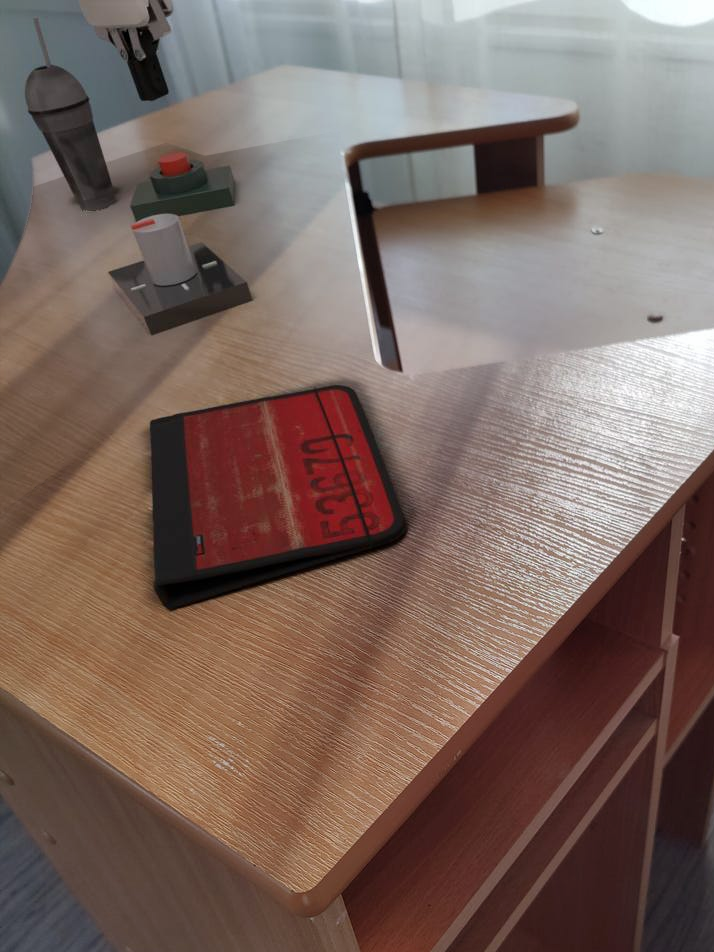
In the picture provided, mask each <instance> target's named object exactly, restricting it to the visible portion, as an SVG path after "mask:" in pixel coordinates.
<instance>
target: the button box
mask: <svg viewBox="0 0 714 952" xmlns="http://www.w3.org/2000/svg"><path fill="white" fill-rule="evenodd" d="M189 161H190V164H191V168H192V169H190V170H189V171H186V172H183V173H180V174H174V175H162V172H161V169H160V166H158V167H157V168H155V169H154V170H152V171H150V174H149V179H150V180H146V181H140V182H137V183H136V185H135V189H134V192H133V195H132V199H131V202H130V206H129V207H130V210H131V212H132V214H133V218H134V219H135V223H136V222H138V221H139V220H142V219H144V218H147V217H150V216H154V215H159V214H175V215H177V216H178V217H182V216H188V215H192V214H197V213H203V212H210V211H214V210H219V209H225V208H229V207H235V204H236V203H235V201H236V180H235V178H234V173H233V171H232V167H231V165H225V166H220V167H215V168H209V169H206V168H205V164H204V162H203V161H200V160H197V159H189Z"/></svg>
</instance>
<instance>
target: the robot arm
mask: <svg viewBox="0 0 714 952" xmlns="http://www.w3.org/2000/svg"><path fill="white" fill-rule="evenodd" d="M76 2H77V4H78V6H79V8H80V11H81V13H82V15H83V18H84V19H85V21H86V22H87V23H88V25H90V26H91V27H93V28H94V32H95V36H96V37H97V38H98V39H101V40H102V41H106V42H109V43H111V44H112V45H113V46H114V47H115V48H116V49H117V52H118V54H119V56H120V59H122V60H123V61H124V62H126V63H127V66H128V69H129V72H130V74H131V77H132V81H133V84H134V86H135V88H136V89H135V90H136V91H137V94H138V97H139V100H140V101H141V102H147V101H148V102H154V101H156V100H158V99H160V98H163V97H165V96H167V95H168V94H169V92H170V91H169V87H168V85H167V82H166V78H165V75H164V72H163V69H162V66H161V63H160V61H159V57H158V55H159V54H160V45H159V43H160V40H161V39H162V38H164V37H166V36H168V35H169V34H171V32H172V28H171V26H170V23H169V22H168V19H167V18H169V17H171V15H173V13H174V4H173V1H172V0H76Z"/></svg>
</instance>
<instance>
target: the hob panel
mask: <svg viewBox="0 0 714 952" xmlns="http://www.w3.org/2000/svg"><path fill="white" fill-rule="evenodd" d="M188 246H189V249H190V252H191V255H192V258H193V260H194V263H195V266H196V269H197V273H196V274H195V275H194V276H193V277H192V278H190V279H189V280H187V281H184V282H182V283H178V284H174V285H168V286H159V285H155V284H153V283H152V281H151V278H150V276H149V273H148V270H147V268H146V265H145V263H144V260H140V261H137V262H134V263H131V264H128V265H125V266H122V267H119V268H116V269H112V270H109V271H107V274H108V277H109V278H110V282H111V283H112V286H113V288H114V291H116V293H117V294H118V295H119V296H120V298H121V299H122V300H123V302H124V303H125V304H126V305H127V307H128V308H129V310H130V311H131V313H133V314H134V316H135V317H136V319H137V320H138V321H139V322H140V324H141V325H142V326H143V327H144V328H145V330H146V331H147V333H148V334H149V335H150V336H151V337H152V336H155V335H158V334H160V333H163V332H166V331H169V330H172V329H175V328H178V327H180V326H183V325H186V324H190V323H192V322H196V321H198V320H202V319H204V318H206V317H210V316H213V315H215V314H219V313H222V312H224V311H227V310H230V309H233V308H236V307H239V306H243V305H245V304H247V303H250V302H253V301H254V300H253V297H252V294H251V291H250V287H249V284H248V282H247V280H245V278H243V277H242V276H241V275H240V274H239V273H238V272H236V271H235V270H234V269H233V268H231V266H229V265H228V264H227V263H226V262H225V261H224V260H223V259H222V258H221V257H219V256H218V255H217V254H216V253H215V252H214V251H213V250H211V249H210V248H209V247H208V246H207V245H206V244H205V243H204V242H202V241H200V242H198V243H194V244H191V245H188Z"/></svg>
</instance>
